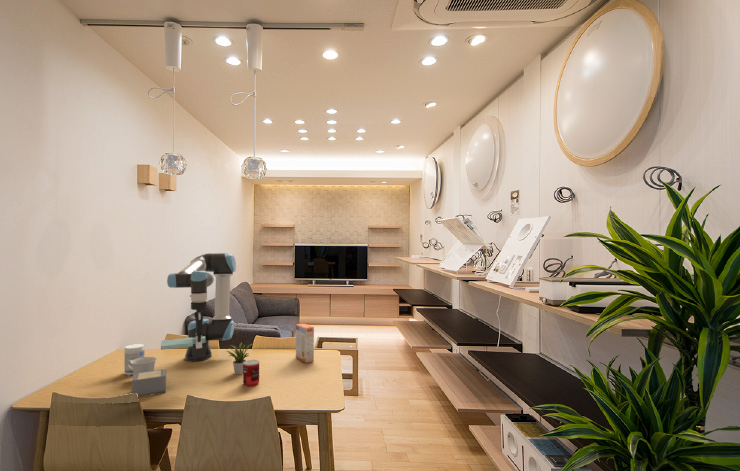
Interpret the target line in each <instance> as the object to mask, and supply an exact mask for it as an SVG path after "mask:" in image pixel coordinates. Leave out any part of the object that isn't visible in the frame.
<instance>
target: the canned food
mask: <svg viewBox="0 0 740 471" xmlns="http://www.w3.org/2000/svg"><path fill="white" fill-rule="evenodd" d="M242 375H243V376H242V381H243V385H244V386H246V387H254V386H257V385H258V384H259V383H260V361H259V360H257V359H249V360H246V361H245V362H243V374H242Z"/></svg>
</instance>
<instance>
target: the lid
mask: <svg viewBox="0 0 740 471" xmlns="http://www.w3.org/2000/svg"><path fill="white" fill-rule="evenodd" d="M202 343H206V338H205V336H203V337H202ZM193 344H196V337H194V338H188V337H184V338H174V339H165V340H161V342H160V350H161V351H162V350H171V349H181V348H188V347H190V346H193Z"/></svg>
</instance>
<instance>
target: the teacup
mask: <svg viewBox="0 0 740 471" xmlns="http://www.w3.org/2000/svg"><path fill="white" fill-rule="evenodd" d="M157 360H158V358H157V357H154V356H144V357H143V358H138V359H135V360H133V361H132V360H130V361H128V362H127V367H128V368H129V369H131V370H133V374H134V373H140V372H148V371H155V365H156V361H157ZM129 363H131V365H132V367H133V368H132V367H130V365H129Z"/></svg>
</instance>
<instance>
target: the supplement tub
mask: <svg viewBox="0 0 740 471" xmlns="http://www.w3.org/2000/svg"><path fill="white" fill-rule="evenodd" d="M123 352H124V356H123V357H124V360H123V362H124V374H125V375H127V376H133V375H134V374H133V370H131V369H129V368H128V367H127V362H128V361H130V360H132V361H133V360H135V359H138V358H143V357H145V345H144V343H136V344H135V343H134V344H129V345H126V346H124V351H123ZM129 365H130V367H132V365H131V363H129ZM132 368H133V367H132Z"/></svg>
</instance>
